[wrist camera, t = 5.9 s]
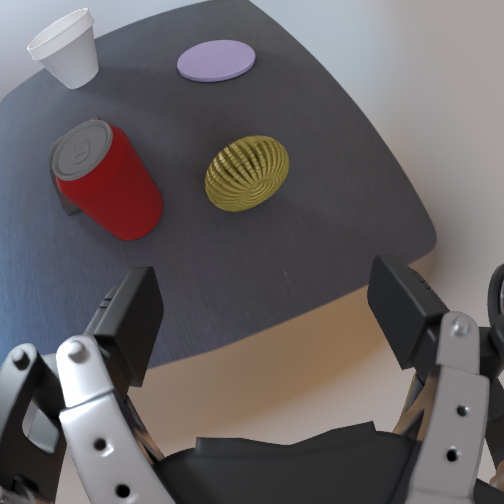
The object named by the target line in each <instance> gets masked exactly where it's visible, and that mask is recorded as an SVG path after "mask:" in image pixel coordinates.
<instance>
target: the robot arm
mask: <svg viewBox="0 0 504 504" xmlns="http://www.w3.org/2000/svg"><path fill="white" fill-rule="evenodd" d="M367 298H368V304H369V306H370V308H371V310H372V312H373V313H374V316H375V317H376V319H377V321H378V323H379V325H380V327H381V329H382V330H383V333H384V335H385V336H386V338H387V340H388V342H389V344H390V346H391V348H392V350H393V352H394V354H395V356H396V358H397V361H398V362H399V365H400V367H401V369H402V370H404V369H408V368H412V367H414V368H415V369H416V372H415V374H414V376H413V379H412V382H411V386H410V389H409V392H408V396H407V399H406V402H405V405H404V408H403V410H402V413H401V416H400V419H399V421H398V423H397V425H396V427H395V428H394V430H393V432H392V433H391V432H384V431H376V429H375V426H374V423H373V421H370V422H366V423H361V424H357V425H353V426H347V427H342V428H337V429H332V430H330V431H327V432H325V433H322V434H320V435H317V436H314V437H312V438H309V439H306V440H304V441H301V442H298V443H295V444H292V445H280V444H273V443H266V442H260V441H254V440H249V439H244V438H205V437H196V446H195V448H190V449H186V450H182V451H179V452H177V453H174V454H171V455H169V456H167V457H165V456H164V455H163V454H162V452H161V451H160V449H159V448H158V447H157V445H156V444H155V443H154V441H153V440H152V438H151V437H150V435H149V433H148V431H147V430H146V428H145V426H144V424H143V423H142V421H141V419H140V417H139V415H138V413H137V412H136V410H135V408H134V406H133V404H132V402H131V400H130V398H129V396H128V395H127V392H128V389H129V386H133V387H142V384H143V380H144V376H145V373H146V370H147V366H148V363H149V360H150V356H151V353H152V350H153V347H154V343H155V340H156V337H157V334H158V331H159V328H160V325H161V322H162V319H163V313H164V307H163V301H162V297H161V293H160V290H159V286H158V282H157V278H156V274H155V271H154V269H153V267H132V268H131V269H130V271H129V272H128V274H127V276H126V277H125V279H124V280H123V281H120V282H118V283H117V284H116V285H115V286H114V287H112V288H111V289H110V290H109V292H108V293H107V295H106V297H105V298H104V301H103V302H102V303H101V305H100V308H98V310H97V312H96V313H95V315H94V317H93V318H92V320H91V322H90V324H89V325H88V327H87V329H86V331H85V332H84V334H83V335H76V336H73V337H71V338H69V339H68V340H66V341H65V342H64V343H63V344H62V345H61V346H60V347H59V349H58V351H57V353H54V354H47V355H41V356H40V354H39V353H38V351H37V349H36V348H35V346H34V345H32V344H29V343H26V344H21V345H19V346H17V347H16V348H14V349H13V350H12V351H11V352H10V353H9V355H8V356H7V358H6V360H5V361H4V363H3V365H2V367H1V369H0V504H55V499H56V493H57V488H58V482H59V477H60V473H61V468H62V464H63V459H64V455H65V451H66V447H67V444H68V447H69V450H70V453H71V456H72V459H73V462H74V465H75V467H76V470H77V473H78V475H79V478H80V480H81V482H82V485H83V487H84V490H85V492H86V494H87V496H88V498H89V501H90V503H91V504H504V389H503V387H502V385H501V383H500V381H499V379H498V376H499V375H500V374H501V372H502V371H503V370H504V276H503V278H502V280H501V282H500V286H499V292H498V311H499V316H497V317H496V319H495V321H494V323H493V325H492V327H478V325H477V323H476V322H475V321H474V320H473V319H472V318H471V317H470V316H468V315H467V314H464V313H462V312H458V311H452V312H450V310H449V309H448V308H447V307H446V305H445V304H444V303H443V302H442V301H441V299H440V298H439V297H438V295H437V294H436V293H435V292H434V291H433V290H431V287H430V286H429V285H428V284H427V283H425V280H424V279H423V278H422V277H421V275H420V274H419V273H418V272H416V271H415V270H413V269H412V268H410V267H408V266H406V265H405V264H404V263H403V261H402V260H401V259H400V258H399V257H398V256H397V255H396V254H385V255H376V256H375V258H374V261H373V266H372V271H371V276H370V281H369V286H368V291H367ZM30 401H32V402H33V403H34V404H35V405H36V406H37V407H38V409H37V412H36V414H35V417H34V420H33V423H32V425H31V428H30V431H29V434H28V437H26V436H25V435H24V433H23V429H22V422H23V419H24V416H25V414H26V411H27V408H28V406H29V404H30ZM484 438H485V439H486V442H487V445H488V447H489V450H490V453H491V456H492V459H493V462H494V465H495V469H496V475H495V476H494V477H492V478H491V480H490V483H489V484H488V483H486V482H484V481H482V480H480V479H478V478H476V477H477V473H478V469H479V465H480V460H481V455H482V450H483V445H484Z"/></svg>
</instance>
